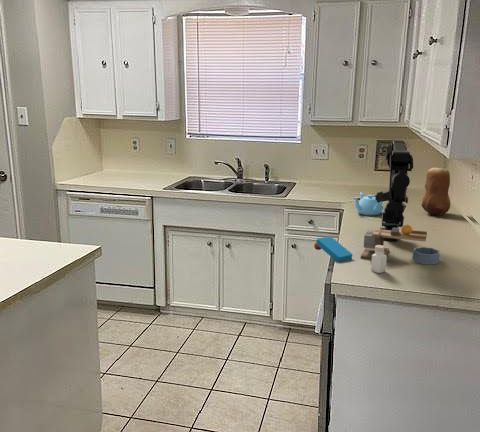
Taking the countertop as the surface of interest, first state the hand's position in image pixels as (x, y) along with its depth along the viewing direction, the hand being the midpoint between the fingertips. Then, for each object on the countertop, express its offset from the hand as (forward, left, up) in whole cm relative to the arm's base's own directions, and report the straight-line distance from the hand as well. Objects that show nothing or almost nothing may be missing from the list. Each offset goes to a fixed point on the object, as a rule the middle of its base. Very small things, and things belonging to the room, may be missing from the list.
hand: (396, 224), depth 188 cm
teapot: (-68, -22, -14) cm, 73 cm away
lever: (+6, -24, -14) cm, 28 cm away
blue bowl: (0, +12, -13) cm, 18 cm away
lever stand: (0, -7, -13) cm, 15 cm away
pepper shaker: (+19, -3, -13) cm, 24 cm away
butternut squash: (-79, +12, -13) cm, 81 cm away
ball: (0, +4, -2) cm, 4 cm away
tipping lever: (0, 0, -10) cm, 10 cm away
